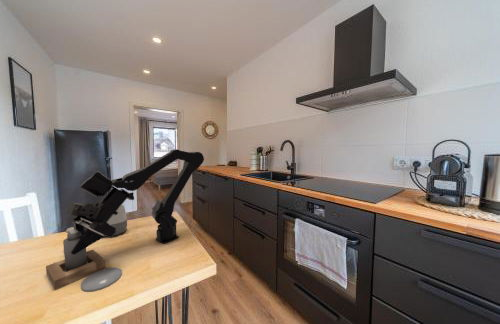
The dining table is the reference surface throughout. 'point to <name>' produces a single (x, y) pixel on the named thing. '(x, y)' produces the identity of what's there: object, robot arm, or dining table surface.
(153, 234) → the dining table surface
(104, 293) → the dining table surface
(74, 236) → the pepper mill
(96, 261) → the mill stand
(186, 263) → the dining table surface
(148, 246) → the dining table surface
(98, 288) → the slate coaster
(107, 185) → the robot arm
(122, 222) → the smart speaker
